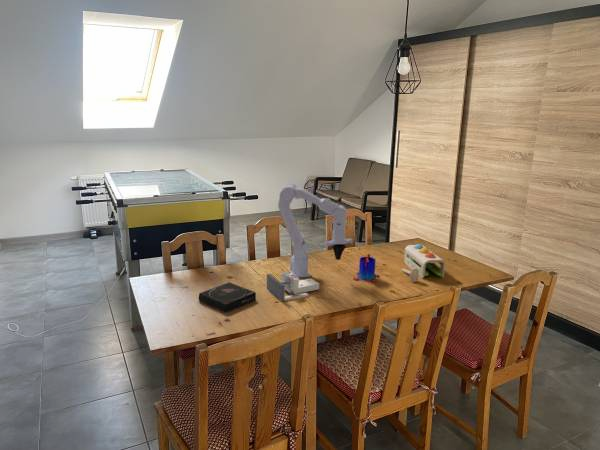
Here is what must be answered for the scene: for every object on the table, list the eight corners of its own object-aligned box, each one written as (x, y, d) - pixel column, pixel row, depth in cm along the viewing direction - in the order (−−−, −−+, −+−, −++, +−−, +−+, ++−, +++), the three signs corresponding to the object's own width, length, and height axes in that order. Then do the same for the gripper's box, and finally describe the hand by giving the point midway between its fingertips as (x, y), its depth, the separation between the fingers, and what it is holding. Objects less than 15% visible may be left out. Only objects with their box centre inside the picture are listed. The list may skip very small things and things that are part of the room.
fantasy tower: (376, 284, 214) (378, 259, 211) (351, 280, 218) (353, 256, 215) (380, 275, 225) (382, 252, 222) (356, 272, 228) (358, 249, 225)
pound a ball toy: (390, 263, 243) (392, 241, 240) (424, 262, 246) (426, 240, 243) (411, 283, 216) (413, 259, 213) (448, 282, 219) (450, 258, 216)
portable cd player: (228, 290, 204) (228, 281, 203) (255, 301, 193) (255, 292, 192) (198, 301, 192) (198, 292, 191) (226, 314, 181) (225, 304, 180)
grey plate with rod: (266, 288, 205) (266, 274, 204) (292, 284, 211) (293, 269, 209) (281, 301, 193) (281, 285, 191) (308, 296, 198) (308, 281, 197)
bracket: (293, 296, 199) (293, 279, 197) (285, 290, 205) (286, 274, 203) (318, 291, 205) (319, 275, 203) (311, 285, 211) (311, 270, 209)
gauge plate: (277, 287, 204) (277, 272, 202) (284, 285, 206) (284, 271, 204) (289, 296, 194) (289, 281, 193) (296, 295, 196) (296, 280, 194)
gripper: (330, 235, 208) (329, 263, 211) (356, 232, 214) (355, 259, 218) (322, 231, 214) (321, 259, 217) (348, 228, 220) (347, 255, 224)
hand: (337, 259), depth 218 cm, fingers closed
